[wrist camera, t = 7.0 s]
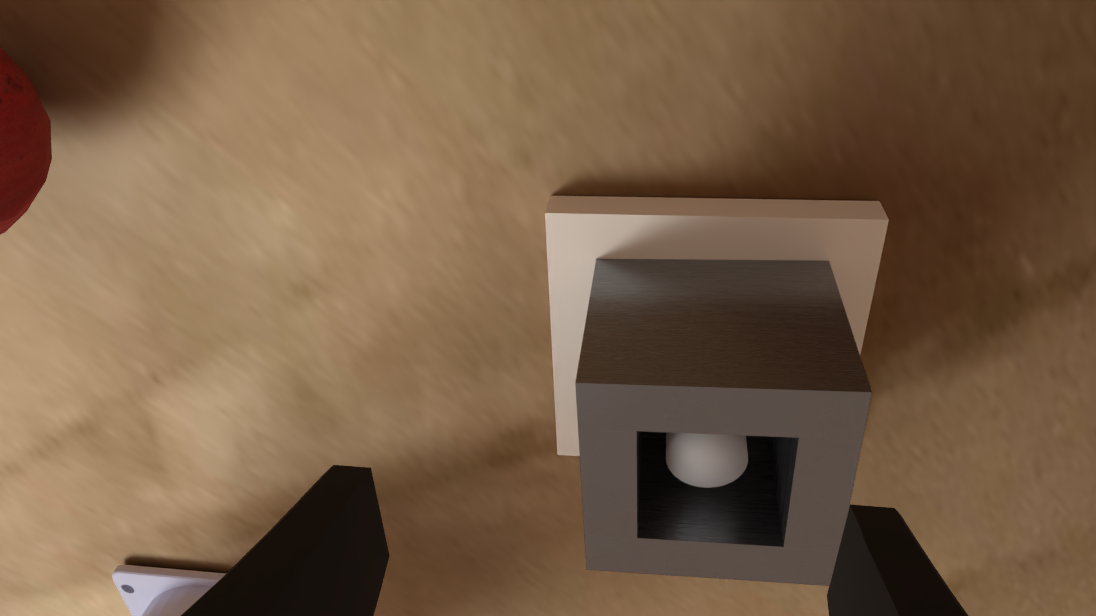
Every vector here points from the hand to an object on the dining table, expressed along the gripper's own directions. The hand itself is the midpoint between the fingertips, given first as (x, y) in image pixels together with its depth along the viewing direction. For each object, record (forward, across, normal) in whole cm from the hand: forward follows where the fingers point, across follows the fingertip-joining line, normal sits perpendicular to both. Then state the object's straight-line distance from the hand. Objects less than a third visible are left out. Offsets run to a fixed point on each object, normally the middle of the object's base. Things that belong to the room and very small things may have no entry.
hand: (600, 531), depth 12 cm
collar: (+9, -2, +3) cm, 10 cm away
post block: (+10, -2, +3) cm, 11 cm away
